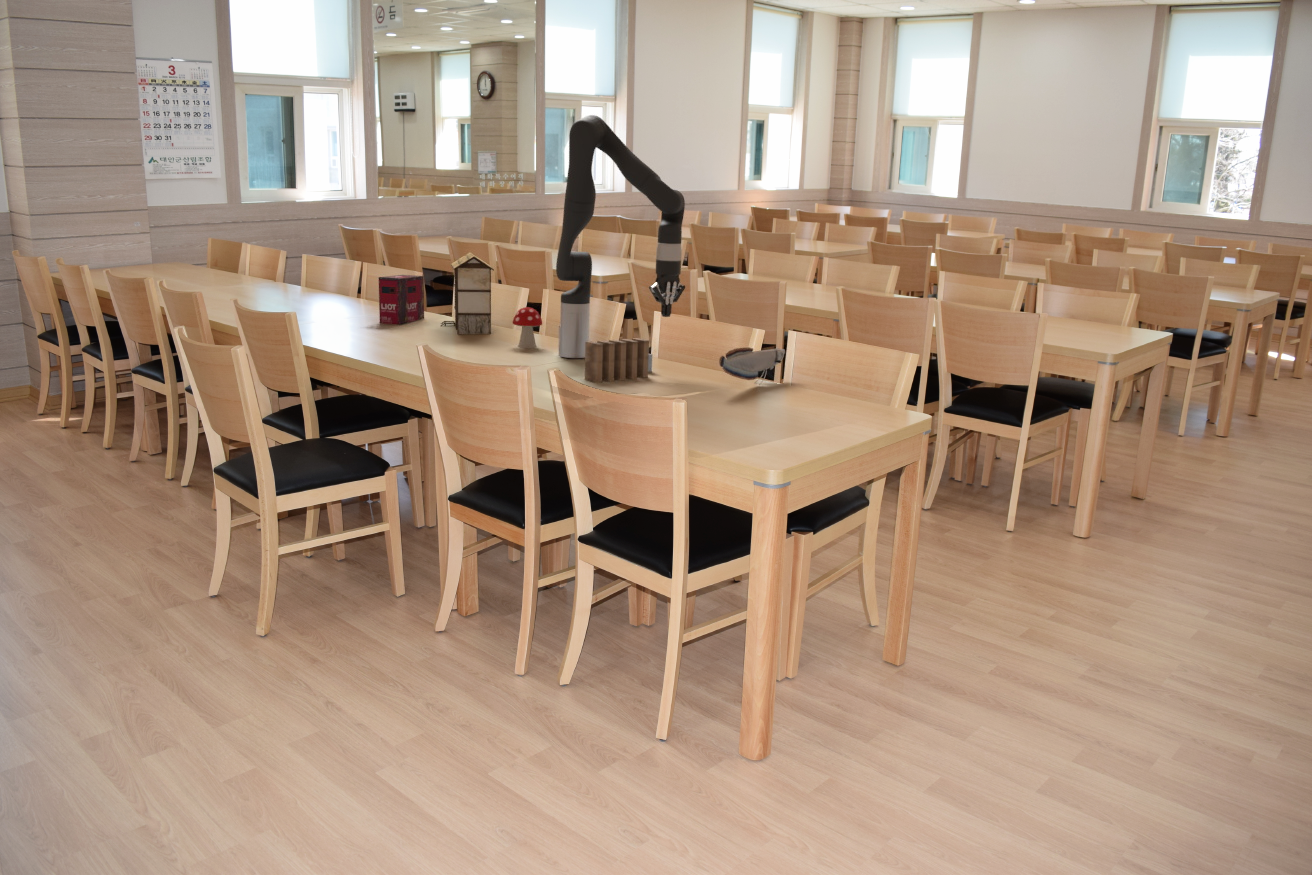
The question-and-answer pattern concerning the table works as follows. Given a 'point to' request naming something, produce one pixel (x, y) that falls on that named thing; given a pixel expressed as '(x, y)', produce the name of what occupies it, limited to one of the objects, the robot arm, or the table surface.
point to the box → (401, 299)
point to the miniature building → (472, 295)
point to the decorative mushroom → (527, 326)
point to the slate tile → (650, 363)
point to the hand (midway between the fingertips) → (666, 316)
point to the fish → (750, 362)
